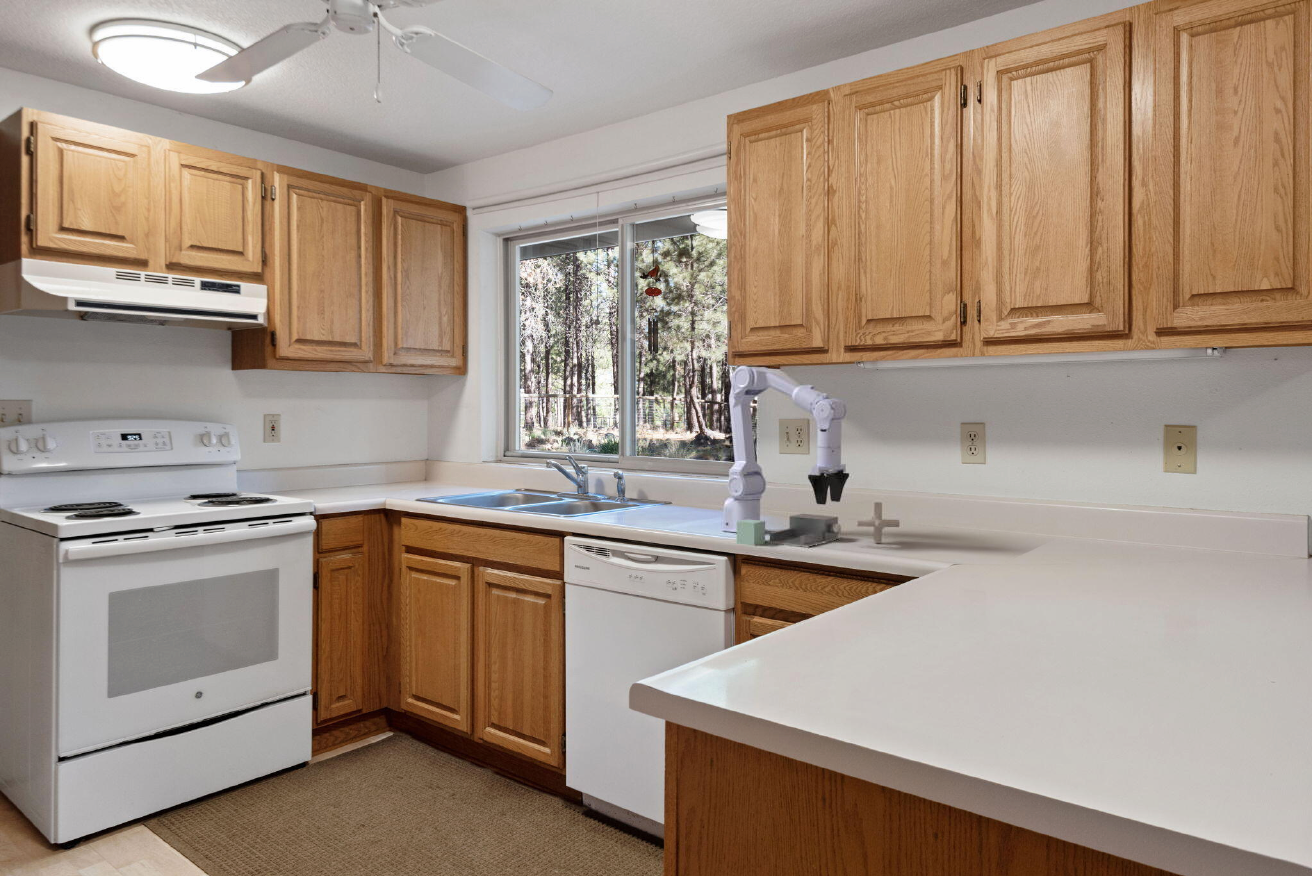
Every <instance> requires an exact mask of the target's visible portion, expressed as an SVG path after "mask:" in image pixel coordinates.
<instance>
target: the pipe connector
mask: <svg viewBox="0 0 1312 876" xmlns="http://www.w3.org/2000/svg"><path fill="white" fill-rule="evenodd" d="M873 508H874V509H873V511H874V512H873V513H874V515H873V517H871V519H870V518H863V519H862V518H857V519H856V527H865V528H866V527H868V528H869V527H870V528H871V527H872V528H873V527H874V528H873V544H875V543H882V542H883V541H882V540H883V539H882V538H883V537H882V533H883V530H884V529H885V528H899V527H900V525H901V523H900V519H883V503H882V502H879V501H878V502H874V506H873Z"/></svg>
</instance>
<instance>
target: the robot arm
mask: <svg viewBox="0 0 1312 876" xmlns="http://www.w3.org/2000/svg"><path fill="white" fill-rule="evenodd" d="M730 381H731V388H730V393H729V395H728V400H729V401H728V402H729V412H730V423H731V435H732V445H733V446H732V447H733V454H734V455H733V457H734V464H733V465H732V466H731V468H730V469H729V470H728V481H727V485H726V486H727V492H728V493H729V495H731V496H730V497H728V498H727V499H726V500H725V501H724V505H723V510H722V511H723V519H722V520H723V526H722V527H723V528H722V529H721V531H722V532H728V533H729V532H730V533H737V521H741V520H747V519H750V520H760V521H761V499H762V495H763V494H764V492H765V491H766V489H767V482H766V478H765V476H764V475H763V469H762V467H761V466H760V465H759V463H757V462H756V461H757V460H756V452H755V441H754V432H753V431H754V430H753V421H752V420H753V419H752V409H751V404H752V402H753V401H754V399H756V397H758V396H759V395H760V394H761V395H762V393H764V392H766V391H767V390H768V389H769V388H771V389H773V390H775V391H777V392H780V393H781V394H783V395H785V396H786V397H787V396H788V397H790V398H791V399H792V400H793V401H792V402H793V404H794V406H796V407H799V408H800V409H802V410H804V411H805V412H807V413H809V414H810V415H813V418H814V419H815V420H816V428H817V446H816V447H817V449H816V450H817V451H816V453H817V454H816V455H817V457H816V462H817V463H816V465H814V466H811V467H810V468H811V469H810V471H811V472H810V474H808V475H807V480H808V481H809V482H810V484H811V486H812V490H813V494H814V498H815V502H816V505H823V506H824V505H826V503H827V498H828V492H829V496H830V501H831V502H836V503H837V502H838V503H840V502H841V499H842V495H843V492H844V487H845V485H846V482H847V480H848V479H849V478H850V473H849V472H847V471H846V469H847V468H846V467H847V465H846V464H845V463H842V421H843V420H844V419H845V417H846V414H847V406H846V404H845V402H843V401H842V400H841V398H838V397H837V398H836V397H834V398H830V395H829V393H825V392H824V393H822V392H821V391H818V390H816V389H815V386H814V385H813V384H803V385H800V386H798V385H797V384H795V383H794V382H792V381H791V380H789V379H787V378H785V377H784V376H782V375H781V374H780V373H777V372H776V371H774V370H773V369H768V367H764V366H762V367H758V366H757V367H756V366H746V365H740V366H739V367H737V368H736V369H735V371H734V372H733V373H732V374H731V375H730ZM828 490H829V491H828ZM765 532H767V529H766V528H765Z"/></svg>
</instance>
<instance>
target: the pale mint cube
mask: <svg viewBox="0 0 1312 876" xmlns="http://www.w3.org/2000/svg"><path fill="white" fill-rule="evenodd" d="M765 529H766V520H761V519H760V520H750V519H747V520H741V521H737V532H736V544H739V545H746V546H755V547H756V546H759V545H763V544H766V543H765V540H766V531H765Z"/></svg>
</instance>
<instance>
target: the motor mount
mask: <svg viewBox="0 0 1312 876" xmlns="http://www.w3.org/2000/svg"><path fill="white" fill-rule="evenodd" d="M841 531H842V526H841V524H839V517H838V516H833V515H831V516H830V515H822V514H821V515H820V514H811V513H810V514H809V513H799V514H795V515H789V528H784V529H780V530H776V531H771V532H769V538H768V539H765V542H767V544H774V545H782V546H783V545H784V546H789V547H798V546H802V547H801V548H806V547H808V548H810V547H809V546H812V547H814V546H813V545H816V544H820V545H822V544H821V543H823V542H827V543H830V542H829V541H831V542H835V541H837V540H836V539H839V540H841V538H842V539H843V536H839V534H840V533H841ZM834 540H835V541H834ZM816 546H817V545H816Z"/></svg>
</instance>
